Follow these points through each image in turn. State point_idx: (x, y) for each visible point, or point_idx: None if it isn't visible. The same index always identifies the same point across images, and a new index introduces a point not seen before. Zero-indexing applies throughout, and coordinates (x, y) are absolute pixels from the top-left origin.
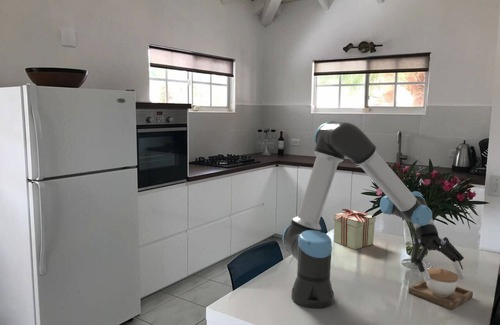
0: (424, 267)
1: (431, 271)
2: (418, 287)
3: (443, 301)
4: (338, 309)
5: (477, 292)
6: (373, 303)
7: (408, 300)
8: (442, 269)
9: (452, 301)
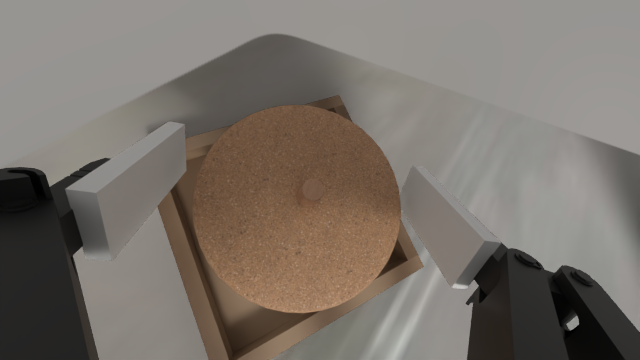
0: (466, 209)
1: (360, 242)
2: None
3: None
4: (636, 203)
5: None
6: (549, 213)
7: None
8: (311, 189)
9: (324, 108)
